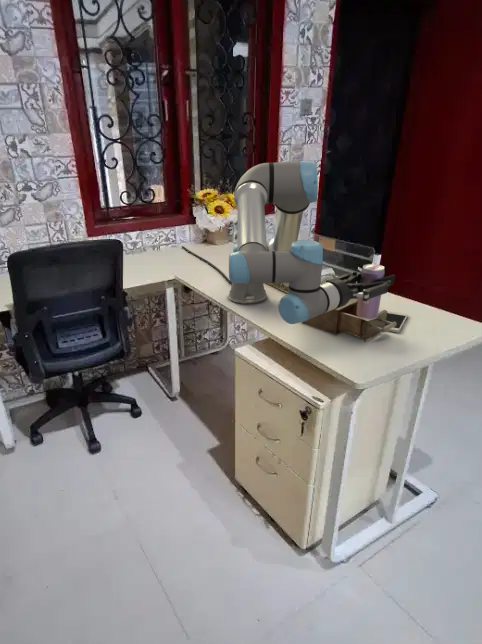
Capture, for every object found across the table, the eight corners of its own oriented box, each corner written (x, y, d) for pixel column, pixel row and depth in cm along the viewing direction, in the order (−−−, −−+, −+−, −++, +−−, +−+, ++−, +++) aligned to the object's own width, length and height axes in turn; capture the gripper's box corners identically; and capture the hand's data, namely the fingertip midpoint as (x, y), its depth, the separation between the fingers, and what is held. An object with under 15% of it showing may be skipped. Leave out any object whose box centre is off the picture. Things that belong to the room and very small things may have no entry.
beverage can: (381, 316, 121) (389, 266, 114) (370, 322, 118) (377, 271, 111) (363, 311, 125) (369, 262, 119) (351, 316, 122) (357, 267, 115)
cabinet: (357, 323, 144) (360, 299, 140) (335, 334, 137) (338, 310, 133) (323, 312, 154) (325, 290, 150) (301, 323, 147) (303, 299, 143)
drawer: (398, 334, 133) (401, 314, 130) (379, 346, 127) (382, 325, 124) (350, 319, 145) (352, 301, 142) (330, 329, 139) (332, 310, 136)
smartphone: (407, 316, 147) (408, 313, 147) (398, 332, 136) (398, 330, 135) (386, 312, 151) (386, 310, 150) (375, 328, 140) (376, 326, 139)
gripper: (301, 299, 117) (353, 281, 128) (358, 320, 102) (411, 297, 114) (302, 274, 113) (356, 257, 125) (362, 291, 99) (416, 271, 110)
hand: (382, 276), depth 119 cm, fingers closed on beverage can, 6 cm apart
